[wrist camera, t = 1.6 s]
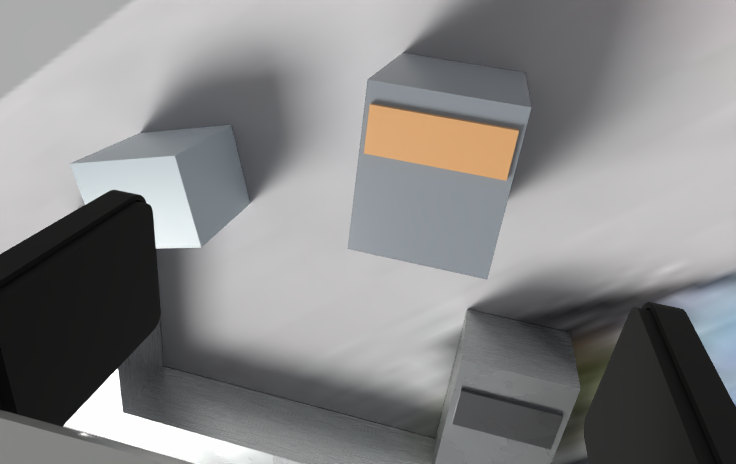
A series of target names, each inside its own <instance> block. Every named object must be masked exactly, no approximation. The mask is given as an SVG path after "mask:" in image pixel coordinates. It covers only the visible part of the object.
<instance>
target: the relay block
mask: <svg viewBox="0 0 736 464" xmlns="http://www.w3.org/2000/svg"><path fill="white" fill-rule="evenodd" d="M70 166H71V169H72V171H73V174H74V177H75V179H76V182H77V185H78V188H79V190H80V193H81V196H82V198H83V201H84V204H85V205H86V204H88V203H89V202H91V201H93V200H94V199H96V198H98V197H100V196H101V195H103V194H105V193H107V192H108V191H111V190H119V191H124V192H129V193H133V194H138V195H142V196H143V197H144V198H145V200H146V203H147V204H149V205H151V207H152V210H153V219H154V232H155V245H156V249H159V248H198V247H202V246H203V245H204V244H206V243H207V242H208V241H209V240H210V239H211V238H212V237H213V236H214V235H216V234H217V233H218V232H219V231H220V230H221V229H222V228H223V227H224V226H226V225H227V224H228V223H229V222H230V221H231V220H232V219H233V218H234V217H236V216H237V215H238V214H239V213H240V212H241V211H242V210H243V209H245V208H246V207H247V206H248V205H249V204H250V201H249V197H248V192H247V188H246V184H245V180H244V176H243V172H242V167H241V163H240V159H239V155H238V151H237V147H236V142H235V138H234V134H233V130H232V126H231V125H221V126H210V127H199V128H188V129H177V130H166V131H155V132H144V133H139V134H137V135H134V136H132V137H130V138H127V139H125V140H123V141H121V142H118V143H116V144H114V145H111V146H109V147H107V148H105V149H102V150H100V151H98V152H95V153H93V154H91V155H89V156H86V157H84V158H82V159H79V160H77V161H75V162H73V163H70Z"/></svg>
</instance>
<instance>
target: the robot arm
mask: <svg viewBox="0 0 736 464" xmlns="http://www.w3.org/2000/svg"><path fill="white" fill-rule="evenodd" d="M160 314H161V310H160V297H159V284H158V271H157V258H156V245H155V232H154V219H153V210H152V207H151V205H149V204H147V203H146V200H145V198H144V197H143V196H142V195H138V194H133V193H129V192H124V191H119V190H111V191H108V192H107V193H105V194H103V195H101V196H100V197H98V198H96V199H94V200H93V201H91V202H89V203H88V204H86V205H84V206H82V207H81V208H79V209H77V210H76V211H74V212H72V213H70V214H69V215H67V216H65V217H64V218H62V219H60V220H58V221H57V222H55V223H53V224H52V225H50V226H48V227H46V228H45V229H43V230H41V231H40V232H38V233H36V234H34V235H33V236H31V237H29V238H28V239H26V240H24V241H22V242H21V243H19V244H17V245H16V246H14V247H12V248H10V249H9V250H7V251H5V252H4V253H2V254H0V464H195V463H191V462H187V461H184V460H180V459H177V458H173V457H170V456H166V455H163V454H159V453H155V452H152V451H148V450H145V449H141V448H137V447H134V446H130V445H126V444H123V443H119V442H116V441H112V440H108V439H105V438H101V437H97V436H94V435H90V434H86V433H83V432H79V431H76V430H72V429H68V428H65V427H63V426H64V425H65V424H66V422H67V421H68V420H69V419H70V418H71V417H72V416H73V415H74V414H75V413H76V412H77V411H78V410H79V409H80V408H81V407H82V406H83V405H84V403H85V402H86V401H87V400H88V399H89V398H90V397H91V396H92V395H93V394H94V393H95V392H96V391H97V390H98V389H99V388H100V387H101V386H102V384H103V383H104V382H105V381H106V380H107V379H108V378H109V377H110V376H111V375H112V374H113V373H114V372H115V371H116V370H117V369H118V368H119V366H120V365H121V364H122V363H123V362H124V361H125V360H126V359H127V358H128V357H129V356H130V355H131V354H132V353H133V352H134V351H135V350H136V349H137V347H138V346H139V345H140V344H141V343H142V342H143V341H144V340H145V339H146V338H147V337H148V336H149V335H150V334H151V333H152V332H153V331H154V329H155V328H156V326H157V325H158V322H159V319H160ZM584 438H585V443H586V449H587V455H588V461H589V464H736V406H735V404H734V403H733V401H732V399H731V398H730V396H729V394H728V392H727V390H726V388H725V386H724V384H723V382H722V380H721V378H720V377H719V375H718V373H717V371H716V369H715V367H714V365H713V363H712V361H711V359H710V357H709V356H708V354H707V352H706V350H705V348H704V346H703V344H702V342H701V340H700V338H699V336H698V335H697V333H696V331H695V329H694V327H693V325H692V323H691V321H690V319H689V317H688V315H687V314H686V312H685V311H684V310H683V309H680V308H675V307H671V306H666V305H661V304H656V303H652V302H647V303H645V304H644V306H643V307H642V309H641V308H637V307H634V308H633V309H632V310H631V311H630V313H629V315H628V317H627V320H626V322H625V325H624V327H623V329H622V332H621V334H620V337H619V339H618V341H617V344H616V346H615V348H614V351H613V353H612V356H611V358H610V360H609V363H608V365H607V368H606V370H605V372H604V375H603V377H602V379H601V382H600V384H599V387H598V389H597V391H596V394H595V396H594V399H593V401H592V403H591V406H590V408H589V411H588V413H587V416H586V419H585V424H584Z"/></svg>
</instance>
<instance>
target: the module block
mask: <svg viewBox="0 0 736 464" xmlns="http://www.w3.org/2000/svg"><path fill="white" fill-rule="evenodd" d="M531 108H532V107H531V102H530V96H529V91H528V85H527V80H526V74H525V72H519V71H513V70H507V69H500V68H494V67H488V66H482V65H475V64H469V63H463V62H457V61H451V60H444V59H438V58H432V57H426V56H420V55H413V54H407V53H402V54H401V55H399V56H398V57H397V58H395V59H394V60H393V61H391V62H390V63H389V64H388V65H386V66H385V67H384V68H382V69H381V70H380V71H378V72H377V73H376V74H374V75H373V76H372V77H370V78H369V79H368V81H367V89H366V98H365V106H364V115H363V123H362V132H361V140H360V149H359V157H358V166H357V174H356V183H355V191H354V200H353V208H352V217H351V225H350V234H349V242H348V249H351V250H355V251H360V252H364V253H369V254H374V255H378V256H383V257H387V258H392V259H396V260H401V261H405V262H410V263H415V264H419V265H424V266H428V267H433V268H437V269H442V270H446V271H451V272H456V273H460V274H465V275H469V276H474V277H478V278H483V279H487V278H488V274H489V270H490V267H491V263H492V259H493V255H494V251H495V247H496V243H497V240H498V236H499V232H500V228H501V224H502V220H503V216H504V212H505V209H506V205H507V201H508V197H509V193H510V189H511V185H512V181H513V178H514V174H515V170H516V166H517V162H518V158H519V154H520V150H521V147H522V143H523V139H524V135H525V131H526V127H527V123H528V119H529V116H530V112H531Z"/></svg>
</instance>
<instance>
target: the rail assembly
mask: <svg viewBox="0 0 736 464" xmlns="http://www.w3.org/2000/svg"><path fill="white" fill-rule="evenodd" d="M580 389H581V388H580V383H579V377H578V371H577V366H576V360H575V354H574V349H573V343H572V338H571V333H569V332H565V331H561V330H556V329H552V328H547V327H543V326H539V325H534V324H530V323H525V322H521V321H517V320H512V319H508V318H504V317H499V316H495V315H490V314H486V313H482V312H477V311H473V310H469V309H467V312H466V316H465V320H464V324H463V328H462V332H461V337H460V341H459V345H458V349H457V353H456V357H455V361H454V365H453V369H452V373H451V377H450V381H449V385H448V390H447V394H446V398H445V402H444V406H443V410H442V414H441V418H440V422H439V426H438V430H437V434H436V439H434V438H430V437H427V436H423V435H419V434H415V433H412V432H408V431H404V430H400V429H397V428H393V427H389V426H385V425H382V424H378V423H374V422H370V421H367V420H363V419H359V418H355V417H352V416H348V415H344V414H340V413H337V412H333V411H329V410H325V409H322V408H318V407H314V406H310V405H307V404H303V403H299V402H295V401H292V400H288V399H284V398H280V397H276V396H273V395H269V394H265V393H261V392H258V391H254V390H250V389H246V388H243V387H239V386H235V385H231V384H228V383H224V382H220V381H216V380H213V379H209V378H205V377H201V376H198V375H194V374H190V373H186V372H183V371H179V370H175V369H171V368H168V367H164V366H163V354H162V339H161V325H160V319H159V322H158V325H157V326H156V328H155V329H154V331H153V332H152V333H151V334H150V335H149V336H148V337H147V338H146V339H145V340H144V341H143V342H142V343H141V344H140V345H139V346H138V347H137V349H136V350H135V351H134V352H133V353H132V354H131V355H130V356H129V357H128V358H127V359H126V360H125V361H124V362H123V363H122V364H121V365H120V366H119V368H118V369H117V370H116V371H115V372H114V373H113V374H112V375H111V376H110V377H109V378H108V379H107V380H106V381H105V382H104V383H103V384H102V386H101V387H100V388H99V389H98V390H97V391H96V392H95V393H94V394H93V395H92V396H91V397H90V398H89V399H88V400H87V401H86V402H85V403H84V405H83V406H82V407H81V408H80V409H79V410H78V411H77V412H76V413H75V414H74V415H73V416H72V417H71V418H70V419H69V420H68V421H67V422H66V424H65V426H69V427H72V428H75V429H79V430H82V431H86V432H89V433H93V434H96V435H99V436H103V437H106V438H110V439H113V440H116V441H120V442H123V443H127V444H130V445H134V446H137V447H140V448H144V449H147V450H151V451H154V452H157V453H161V454H164V455H168V456H171V457H175V458H178V459H181V460H185V461H188V462H192V463H195V464H551V463H552V461H553V458H554V455H555V453H556V450H557V448H558V445H559V443H560V440H561V438H562V435H563V433H564V430H565V427H566V425H567V422H568V420H569V417H570V415H571V412H572V410H573V407H574V404H575V402H576V399H577V397H578V394H579V392H580Z"/></svg>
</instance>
